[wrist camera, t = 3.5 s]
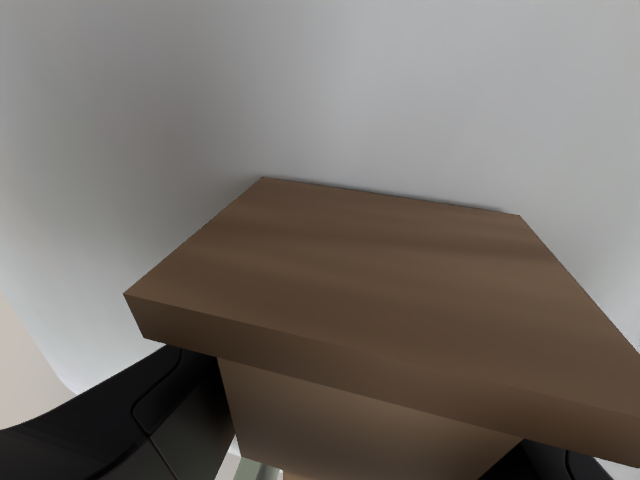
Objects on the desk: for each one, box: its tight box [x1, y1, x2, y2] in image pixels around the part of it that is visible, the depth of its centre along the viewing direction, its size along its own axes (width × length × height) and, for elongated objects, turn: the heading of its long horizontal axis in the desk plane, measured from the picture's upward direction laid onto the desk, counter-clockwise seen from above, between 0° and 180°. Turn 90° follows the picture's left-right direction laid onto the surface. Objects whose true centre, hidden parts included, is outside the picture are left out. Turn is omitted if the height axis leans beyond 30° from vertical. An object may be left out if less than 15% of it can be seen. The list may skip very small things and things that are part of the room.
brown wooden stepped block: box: [123, 177, 640, 480], centre depth 10 cm, size 18×7×5 cm, turn 176°
